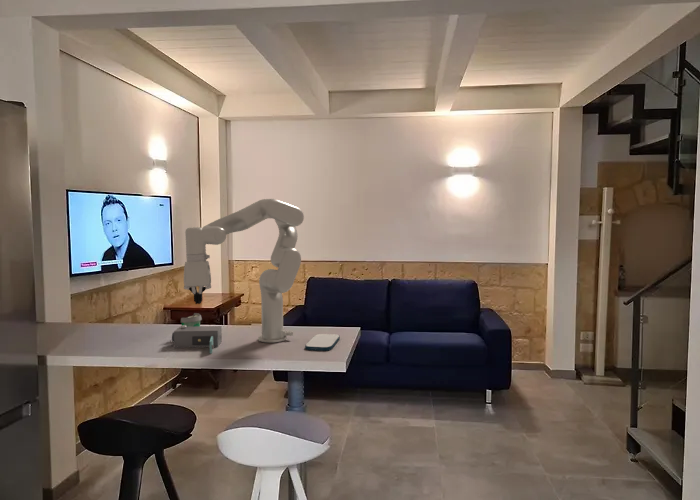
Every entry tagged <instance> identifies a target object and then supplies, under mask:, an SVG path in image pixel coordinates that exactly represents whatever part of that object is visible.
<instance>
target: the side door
mask: <svg viewBox="0 0 700 500" xmlns="http://www.w3.org/2000/svg"><path fill="white" fill-rule="evenodd" d="M214 348H215V347H214V336H211V339H210V347H209V354H212V353H213V350H214Z"/></svg>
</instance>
